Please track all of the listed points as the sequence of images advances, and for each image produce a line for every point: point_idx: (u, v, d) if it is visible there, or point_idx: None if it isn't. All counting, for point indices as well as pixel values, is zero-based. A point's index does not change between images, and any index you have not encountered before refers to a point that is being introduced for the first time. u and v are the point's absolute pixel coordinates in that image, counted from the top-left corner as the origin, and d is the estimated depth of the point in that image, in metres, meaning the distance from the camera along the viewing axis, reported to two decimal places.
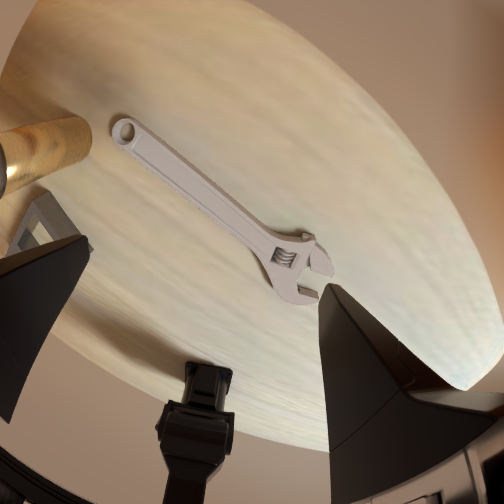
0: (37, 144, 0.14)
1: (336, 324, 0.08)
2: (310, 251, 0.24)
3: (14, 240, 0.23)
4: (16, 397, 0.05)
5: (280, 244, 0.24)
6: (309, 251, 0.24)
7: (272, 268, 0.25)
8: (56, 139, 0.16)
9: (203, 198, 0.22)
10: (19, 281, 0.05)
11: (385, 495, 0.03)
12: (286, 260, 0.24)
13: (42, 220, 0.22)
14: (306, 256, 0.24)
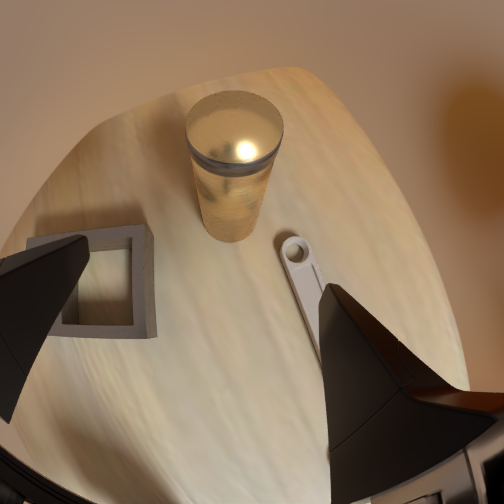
0: (267, 183, 0.17)
1: (336, 324, 0.08)
2: None
3: (64, 236, 0.19)
4: (16, 397, 0.05)
5: None
6: None
7: None
8: (262, 199, 0.19)
9: None
10: (19, 281, 0.05)
11: (385, 495, 0.03)
12: None
13: (137, 254, 0.19)
14: None
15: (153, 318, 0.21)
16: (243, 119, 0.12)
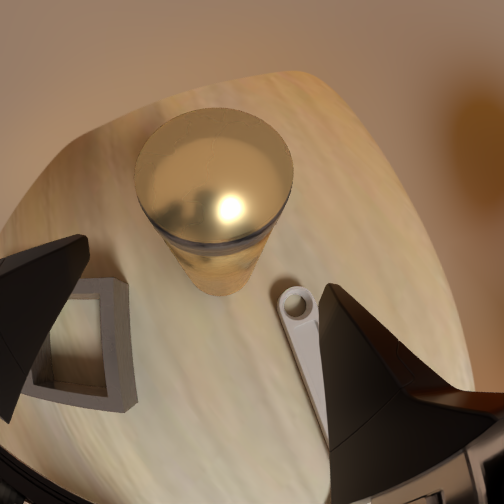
0: None
1: (336, 324, 0.08)
2: None
3: None
4: (16, 397, 0.05)
5: None
6: None
7: None
8: None
9: None
10: (18, 281, 0.05)
11: (385, 495, 0.03)
12: None
13: (106, 315, 0.15)
14: None
15: (132, 383, 0.16)
16: (227, 159, 0.08)
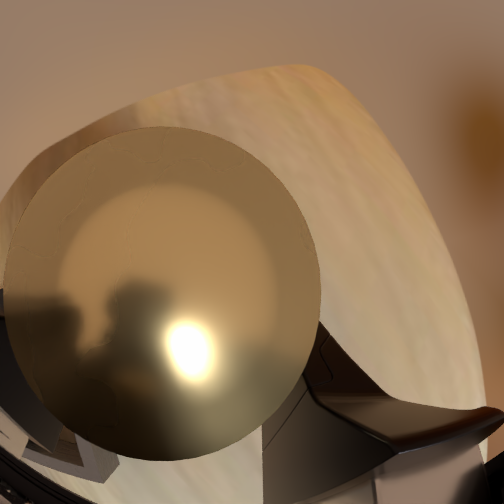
0: None
1: None
2: None
3: None
4: (60, 423, 0.05)
5: None
6: None
7: None
8: None
9: None
10: None
11: None
12: None
13: None
14: None
15: None
16: (159, 273, 0.03)
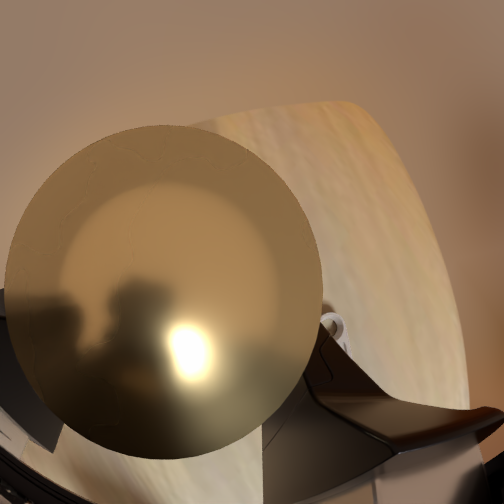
0: None
1: None
2: None
3: None
4: (60, 424, 0.05)
5: None
6: None
7: None
8: None
9: None
10: None
11: None
12: None
13: None
14: None
15: None
16: (162, 270, 0.03)
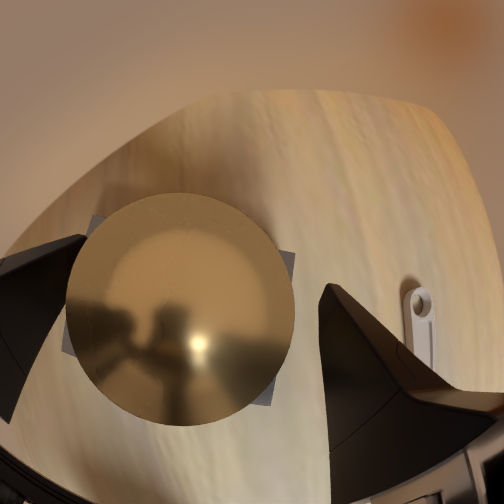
0: None
1: (336, 324, 0.08)
2: None
3: None
4: (16, 397, 0.05)
5: None
6: None
7: None
8: None
9: None
10: (19, 281, 0.05)
11: (385, 495, 0.03)
12: None
13: None
14: None
15: None
16: (191, 303, 0.05)
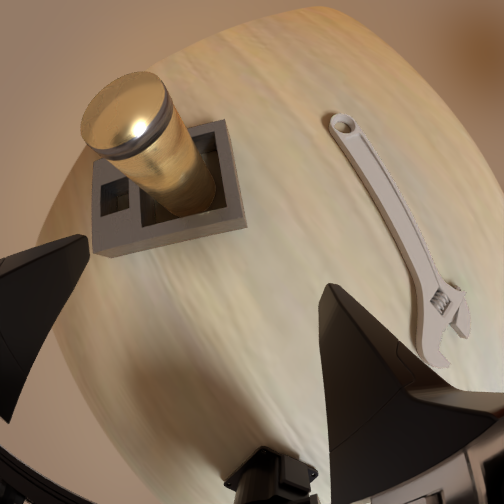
0: (190, 143, 0.15)
1: (336, 324, 0.08)
2: (460, 302, 0.18)
3: None
4: (16, 397, 0.05)
5: (443, 285, 0.19)
6: (460, 302, 0.18)
7: (429, 310, 0.19)
8: (199, 160, 0.18)
9: (395, 212, 0.20)
10: (18, 281, 0.05)
11: (385, 495, 0.03)
12: (442, 305, 0.19)
13: (221, 143, 0.20)
14: (457, 306, 0.18)
15: None
16: (125, 100, 0.11)
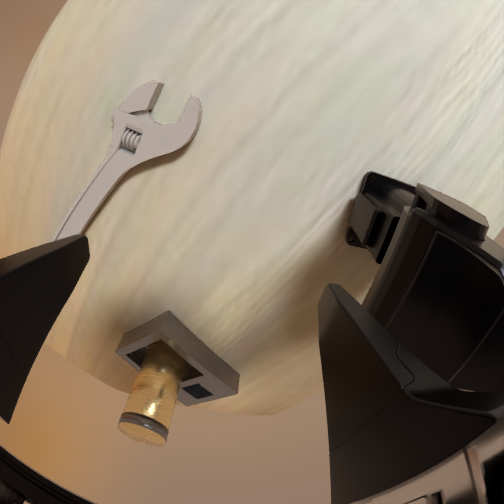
0: (137, 384, 0.23)
1: (336, 324, 0.08)
2: (123, 112, 0.17)
3: None
4: (16, 397, 0.05)
5: (115, 145, 0.18)
6: (123, 113, 0.17)
7: (141, 154, 0.19)
8: (144, 367, 0.25)
9: (82, 213, 0.22)
10: (19, 281, 0.05)
11: (385, 495, 0.03)
12: (133, 138, 0.18)
13: (129, 349, 0.27)
14: (128, 116, 0.17)
15: (157, 319, 0.27)
16: (136, 434, 0.19)
